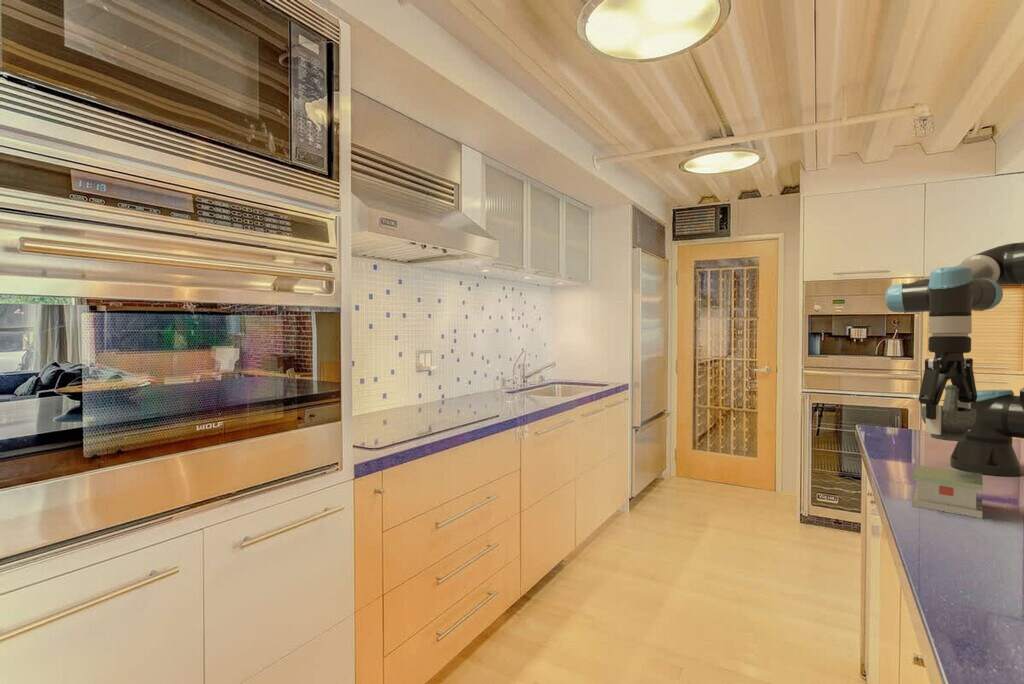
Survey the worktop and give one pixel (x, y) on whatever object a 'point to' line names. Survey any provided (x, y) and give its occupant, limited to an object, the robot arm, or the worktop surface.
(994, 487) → the worktop surface
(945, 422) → the mortar and pestle
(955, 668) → the worktop surface
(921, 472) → the stand
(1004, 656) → the worktop surface
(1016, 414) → the robot arm
